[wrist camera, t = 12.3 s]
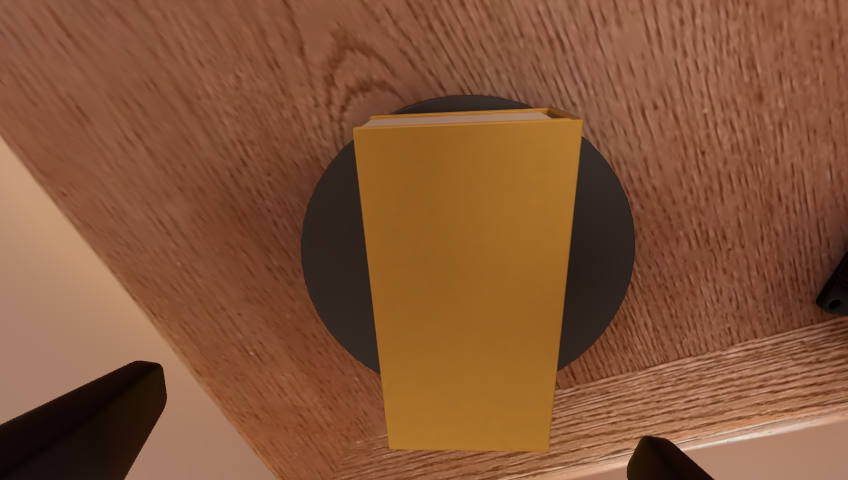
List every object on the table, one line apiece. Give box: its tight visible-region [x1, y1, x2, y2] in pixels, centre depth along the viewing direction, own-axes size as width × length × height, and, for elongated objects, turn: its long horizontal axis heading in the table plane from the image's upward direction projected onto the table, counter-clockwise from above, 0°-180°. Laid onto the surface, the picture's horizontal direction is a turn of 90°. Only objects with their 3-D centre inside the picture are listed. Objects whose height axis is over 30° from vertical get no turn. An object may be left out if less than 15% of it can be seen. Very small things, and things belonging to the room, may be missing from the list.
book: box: [353, 108, 583, 452], centre depth 17 cm, size 14×7×3 cm, turn 3°
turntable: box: [301, 95, 635, 375], centre depth 19 cm, size 15×15×1 cm
